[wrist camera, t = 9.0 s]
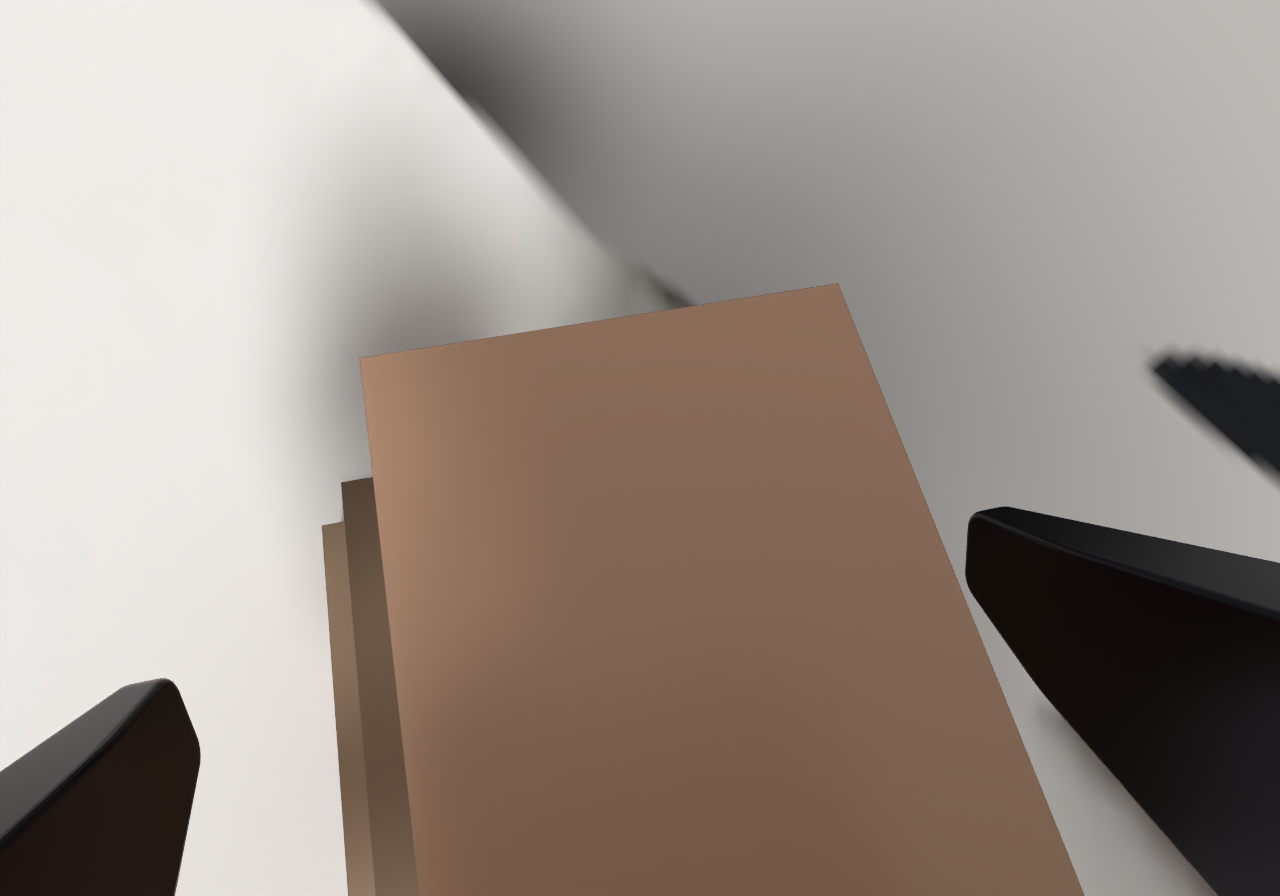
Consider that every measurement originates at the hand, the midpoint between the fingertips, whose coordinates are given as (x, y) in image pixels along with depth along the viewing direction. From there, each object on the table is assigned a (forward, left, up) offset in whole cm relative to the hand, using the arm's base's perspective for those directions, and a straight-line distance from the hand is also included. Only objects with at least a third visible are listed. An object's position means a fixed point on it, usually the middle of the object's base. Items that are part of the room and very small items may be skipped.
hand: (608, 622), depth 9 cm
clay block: (-1, 0, -8) cm, 8 cm away
